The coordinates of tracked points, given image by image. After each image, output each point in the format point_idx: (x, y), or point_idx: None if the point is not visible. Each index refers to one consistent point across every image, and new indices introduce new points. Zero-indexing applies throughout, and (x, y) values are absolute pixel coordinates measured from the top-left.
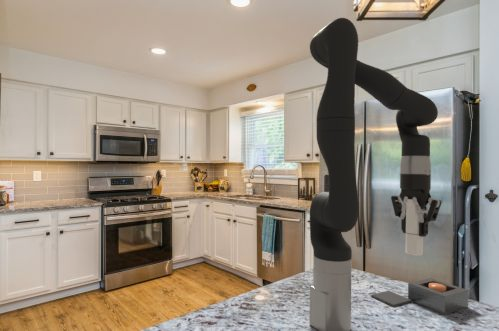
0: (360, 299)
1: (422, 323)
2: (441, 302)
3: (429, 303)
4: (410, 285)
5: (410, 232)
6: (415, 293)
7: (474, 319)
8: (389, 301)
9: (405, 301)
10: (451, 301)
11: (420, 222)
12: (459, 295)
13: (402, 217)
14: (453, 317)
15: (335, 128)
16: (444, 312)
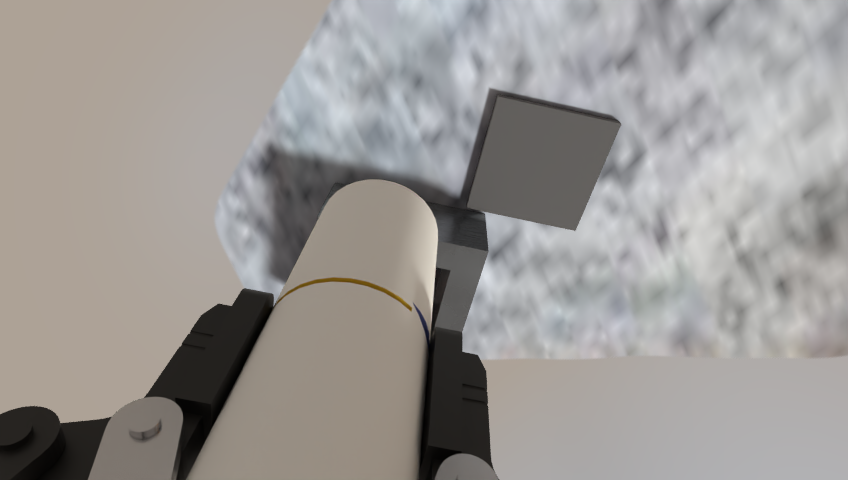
0: (648, 45)
1: (346, 30)
2: None
3: None
4: (476, 245)
5: (341, 289)
6: (452, 225)
7: (264, 223)
8: (525, 116)
9: (476, 172)
10: None
11: (213, 424)
12: None
13: (460, 476)
14: (308, 185)
15: None
16: (334, 186)
